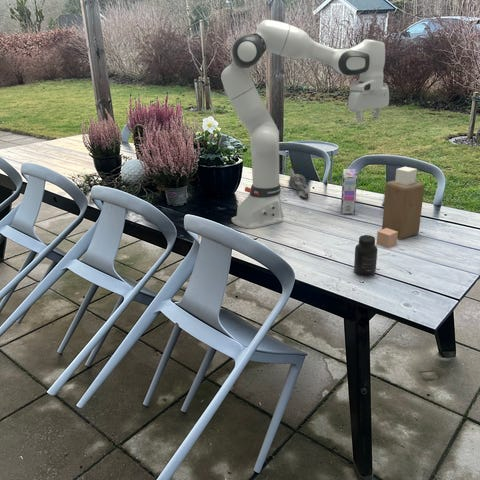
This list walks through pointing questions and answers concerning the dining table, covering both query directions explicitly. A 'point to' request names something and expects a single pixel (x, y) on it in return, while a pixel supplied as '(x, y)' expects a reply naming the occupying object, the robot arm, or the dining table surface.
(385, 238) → the peach cube
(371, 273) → the supplement bottle
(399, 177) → the cream cube
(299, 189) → the spaceship
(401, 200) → the wooden block
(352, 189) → the candy box
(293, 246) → the dining table surface
